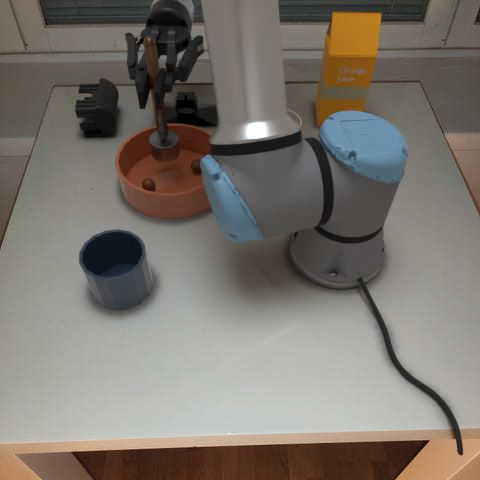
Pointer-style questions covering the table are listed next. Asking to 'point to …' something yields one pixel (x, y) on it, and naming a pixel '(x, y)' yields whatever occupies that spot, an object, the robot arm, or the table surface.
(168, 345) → the table surface
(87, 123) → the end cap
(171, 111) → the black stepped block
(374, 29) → the orange juice
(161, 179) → the bowl
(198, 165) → the meatball
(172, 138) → the ladle
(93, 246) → the crock
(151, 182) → the meatball
